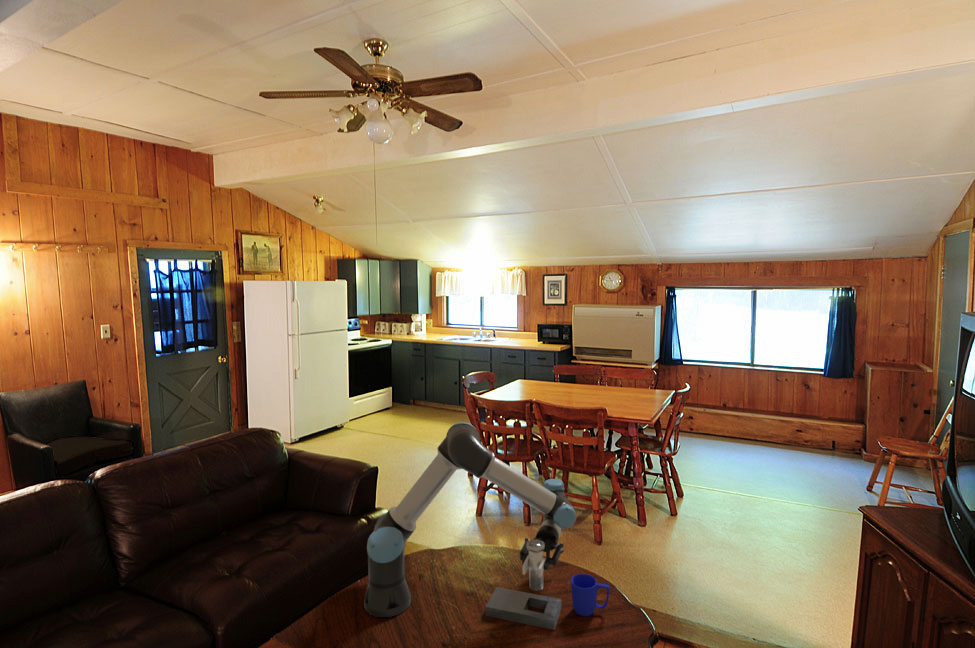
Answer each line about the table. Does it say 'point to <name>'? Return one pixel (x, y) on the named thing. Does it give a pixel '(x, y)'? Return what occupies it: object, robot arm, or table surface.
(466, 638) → the table surface
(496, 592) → the jig
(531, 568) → the silver metal peg
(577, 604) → the mug
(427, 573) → the table surface
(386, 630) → the table surface
